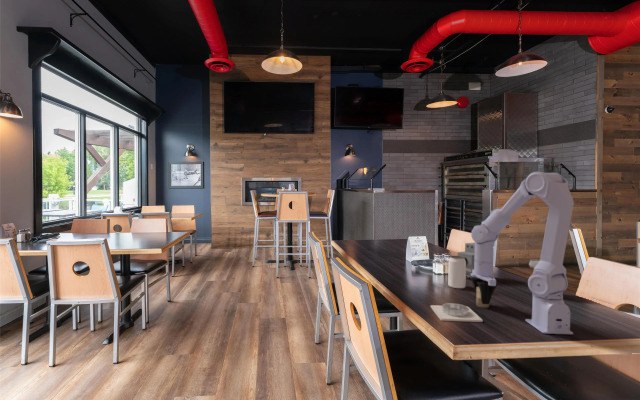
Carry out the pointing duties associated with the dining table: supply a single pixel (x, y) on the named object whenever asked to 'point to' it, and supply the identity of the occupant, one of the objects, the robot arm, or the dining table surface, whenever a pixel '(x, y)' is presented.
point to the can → (457, 272)
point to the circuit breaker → (469, 257)
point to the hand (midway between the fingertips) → (482, 301)
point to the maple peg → (478, 299)
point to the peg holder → (455, 313)
